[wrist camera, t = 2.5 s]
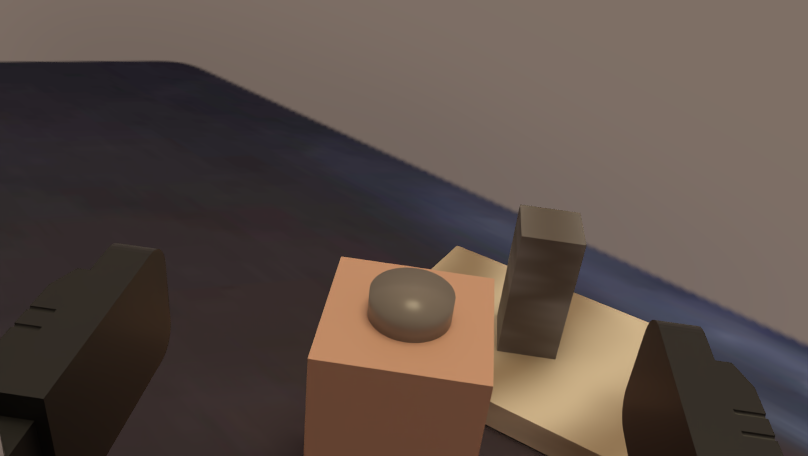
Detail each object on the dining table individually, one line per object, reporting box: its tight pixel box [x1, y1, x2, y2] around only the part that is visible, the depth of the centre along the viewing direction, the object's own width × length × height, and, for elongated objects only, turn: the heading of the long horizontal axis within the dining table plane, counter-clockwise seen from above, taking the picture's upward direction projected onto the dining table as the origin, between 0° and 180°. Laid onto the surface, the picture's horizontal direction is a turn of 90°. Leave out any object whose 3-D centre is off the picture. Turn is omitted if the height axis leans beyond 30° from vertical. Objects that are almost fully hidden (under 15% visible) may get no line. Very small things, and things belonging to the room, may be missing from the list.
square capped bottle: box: [304, 257, 494, 456], centre depth 29 cm, size 6×6×11 cm
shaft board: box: [431, 205, 649, 456], centre depth 38 cm, size 14×11×8 cm
